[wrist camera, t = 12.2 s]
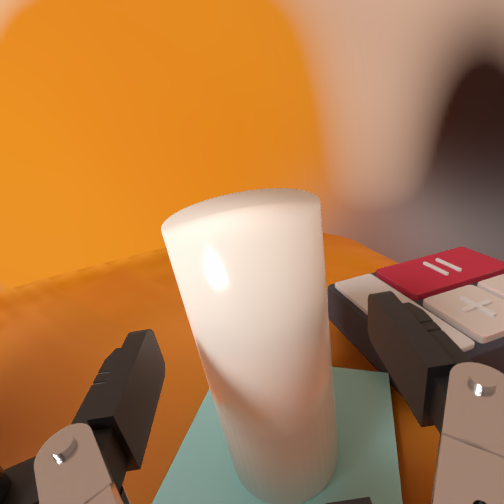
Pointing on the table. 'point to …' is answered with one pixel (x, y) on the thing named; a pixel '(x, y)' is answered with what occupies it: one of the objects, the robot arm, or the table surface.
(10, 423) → the table surface
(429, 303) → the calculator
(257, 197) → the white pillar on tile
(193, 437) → the coaster pad
